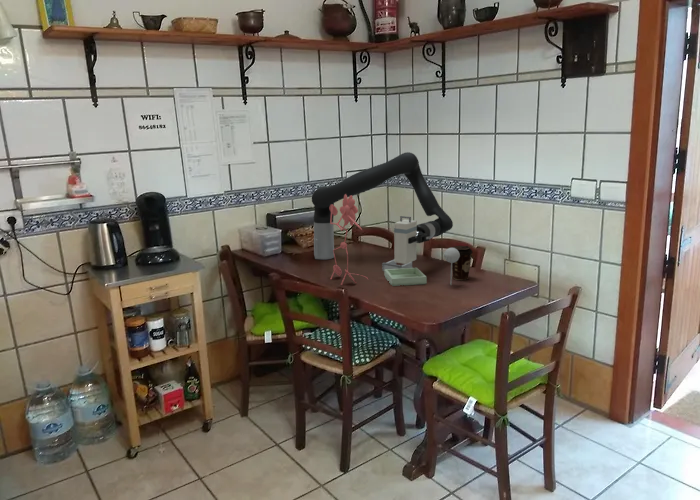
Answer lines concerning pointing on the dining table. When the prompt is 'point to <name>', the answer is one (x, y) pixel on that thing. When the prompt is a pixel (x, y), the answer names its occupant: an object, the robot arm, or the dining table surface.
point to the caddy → (404, 240)
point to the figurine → (348, 216)
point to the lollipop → (451, 257)
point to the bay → (392, 265)
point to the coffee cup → (462, 263)
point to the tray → (405, 276)
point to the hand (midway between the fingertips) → (402, 240)
